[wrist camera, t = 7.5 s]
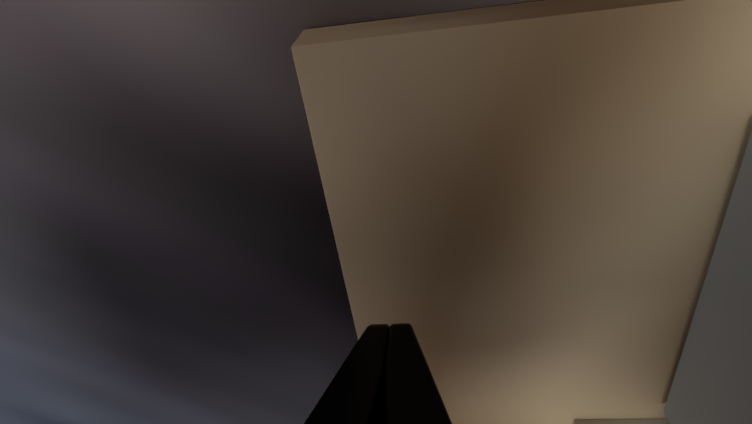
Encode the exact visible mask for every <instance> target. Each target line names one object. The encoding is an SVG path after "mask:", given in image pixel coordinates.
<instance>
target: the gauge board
mask: <svg viewBox="0 0 752 424" xmlns="http://www.w3.org/2000/svg"><path fill="white" fill-rule="evenodd" d="M291 51H292V55H293V60H294V64H295V68H296V73H297V77H298V81H299V86H300V90H301V94H302V99H303V103H304V107H305V112H306V116H307V120H308V125H309V129H310V133H311V138H312V142H313V146H314V151H315V155H316V159H317V164H318V168H319V173H320V177H321V181H322V186H323V190H324V194H325V199H326V203H327V207H328V212H329V216H330V220H331V225H332V229H333V233H334V238H335V242H336V246H337V251H338V255H339V259H340V264H341V268H342V272H343V277H344V281H345V286H346V290H347V294H348V299H349V303H350V307H351V312H352V316H353V320H354V325H355V329H356V333H357V338H358V340H359V338H360V337H361V335H362V334H363V332H364V331H365V329H366V328H367V326H369V325H371V324H388V325H389V326H390V325H391V324H396V323H409V324H411V326H412V328H413V330H414V332H415V335H416V337H417V340H418V342H419V345H420V347H421V349H422V352H423V354H424V357H425V359H426V361H427V364H428V366H429V369H430V371H431V374H432V376H433V378H434V381H435V383H436V386H437V388H438V390H439V393H440V395H441V398H442V400H443V403H444V405H445V407H446V410H447V412H448V415H449V417H450V419H451V422H452V424H669V422H668V420H667V418H666V416H665V413H664V409H665V406H666V402H667V399H668V396H669V393H670V390H671V386H672V383H673V380H674V377H675V374H676V371H677V367H678V364H679V361H680V358H681V355H682V351H683V348H684V345H685V342H686V339H687V336H688V332H689V329H690V326H691V323H692V320H693V316H694V313H695V310H696V307H697V304H698V301H699V297H700V294H701V291H702V288H703V285H704V281H705V278H706V275H707V272H708V269H709V266H710V262H711V259H712V256H713V253H714V250H715V246H716V243H717V240H718V237H719V234H720V231H721V227H722V224H723V221H724V218H725V215H726V212H727V208H728V205H729V202H730V199H731V196H732V192H733V189H734V186H735V183H736V180H737V177H738V173H739V170H740V167H741V164H742V161H743V157H744V154H745V151H746V148H747V145H748V142H749V138H750V135H751V132H752V0H541V1H533V2H525V3H517V4H509V5H501V6H492V7H484V8H476V9H468V10H460V11H452V12H444V13H435V14H427V15H419V16H411V17H403V18H395V19H387V20H378V21H370V22H362V23H354V24H346V25H338V26H330V27H321V28H313V29H305V30H303V31H302V33H301V34H300V35H299V37H298V38H297V39H296V40H295V42H294V43H293V44H292V46H291Z"/></svg>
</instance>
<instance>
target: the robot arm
mask: <svg viewBox="0 0 752 424" xmlns="http://www.w3.org/2000/svg"><path fill="white" fill-rule="evenodd" d="M304 424H452V422H451V419H450V417H449V415H448V412H447V410H446V407H445V405H444V403H443V400H442V398H441V395H440V393H439V390H438V388H437V386H436V383H435V381H434V378H433V376H432V374H431V371H430V369H429V366H428V364H427V361H426V359H425V357H424V354H423V352H422V349H421V347H420V345H419V342H418V340H417V337H416V335H415V332H414V330H413V328H412V326H411V324H409V323H396V324H391V325H390V326H389V325H388V324H371V325H369V326H367V328H366V329H365V331H364V332H363V334H362V335H361V337H360V338H359V340H358V341H357V343H356V344H355V346H354V348H353V349H352V351H351V352H350V354H349V355H348V357H347V358H346V360H345V361H344V363H343V364H342V366H341V368H340V369H339V371H338V372H337V374H336V375H335V377H334V378H333V380H332V381H331V383H330V384H329V386H328V388H327V389H326V391H325V392H324V394H323V395H322V397H321V398H320V400H319V401H318V403H317V405H316V406H315V408H314V409H313V411H312V412H311V414H310V415H309V417H308V418H307V420H306V421H305V423H304Z"/></svg>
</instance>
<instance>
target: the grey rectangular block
mask: <svg viewBox="0 0 752 424" xmlns="http://www.w3.org/2000/svg"><path fill="white" fill-rule="evenodd" d="M664 413H665V416H666V418H667V420H668V422H669V424H752V132H751V135H750V138H749V142H748V145H747V148H746V151H745V154H744V157H743V161H742V164H741V167H740V170H739V173H738V177H737V180H736V183H735V186H734V189H733V192H732V196H731V199H730V202H729V205H728V208H727V212H726V215H725V218H724V221H723V224H722V227H721V231H720V234H719V237H718V240H717V243H716V246H715V250H714V253H713V256H712V259H711V262H710V266H709V269H708V272H707V275H706V278H705V281H704V285H703V288H702V291H701V294H700V297H699V301H698V304H697V307H696V310H695V313H694V316H693V320H692V323H691V326H690V329H689V332H688V336H687V339H686V342H685V345H684V348H683V351H682V355H681V358H680V361H679V364H678V367H677V371H676V374H675V377H674V380H673V383H672V386H671V390H670V393H669V396H668V399H667V402H666V406H665V409H664Z"/></svg>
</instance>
